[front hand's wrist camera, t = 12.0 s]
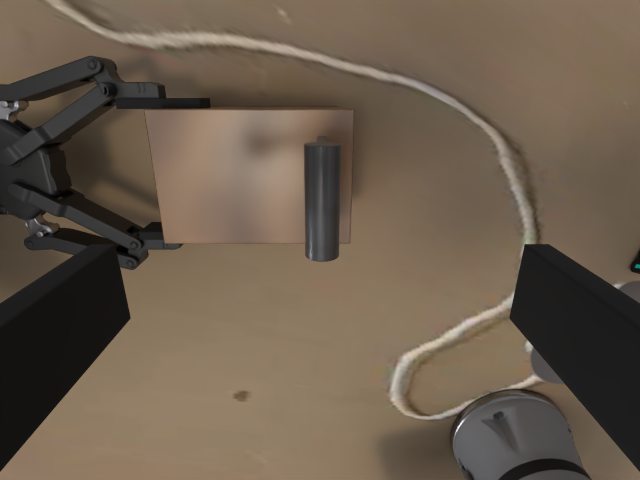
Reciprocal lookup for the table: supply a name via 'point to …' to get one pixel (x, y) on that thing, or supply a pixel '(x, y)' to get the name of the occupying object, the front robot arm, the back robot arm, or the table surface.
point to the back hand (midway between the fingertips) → (212, 170)
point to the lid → (254, 176)
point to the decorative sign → (636, 266)
